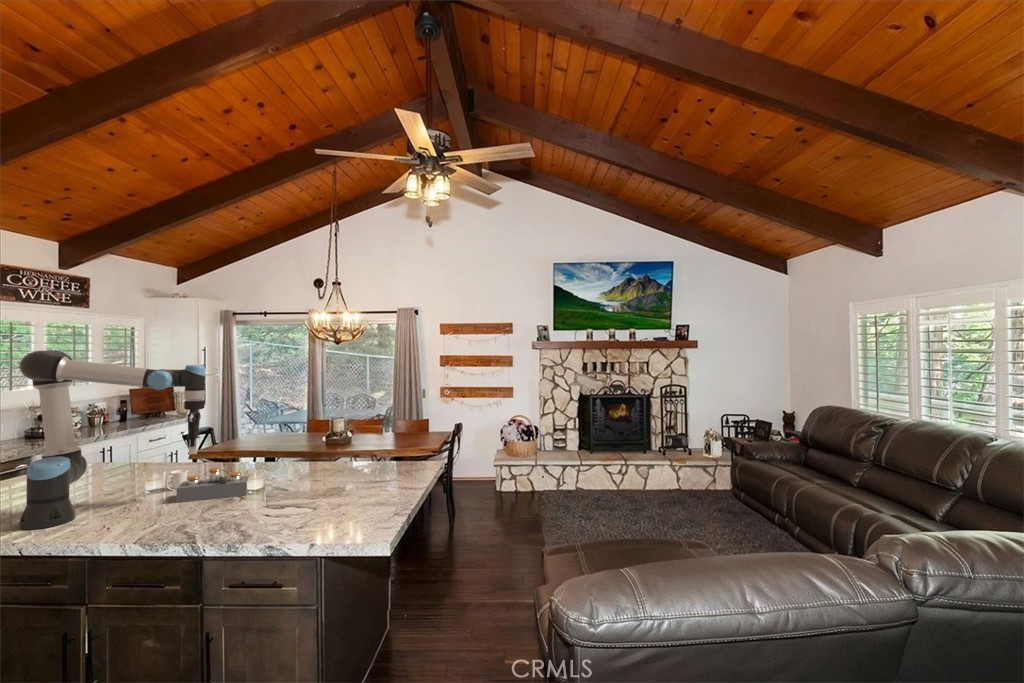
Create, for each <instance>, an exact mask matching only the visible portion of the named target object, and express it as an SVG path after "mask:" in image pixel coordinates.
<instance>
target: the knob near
mask: <svg viewBox="0 0 1024 683" xmlns="http://www.w3.org/2000/svg"><path fill="white" fill-rule="evenodd" d="M200 478H201V476H200V475H192V476H187V478H186V481H188V485H199V480H200Z"/></svg>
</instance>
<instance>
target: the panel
mask: <svg viewBox="0 0 1024 683" xmlns="http://www.w3.org/2000/svg"><path fill="white" fill-rule="evenodd" d="M248 478H249V479H250V475H240V481H232V482H230V476H229V477H228V476H227V483H226V484H220V483H210V484H209V482H210V478H209V479H199V485H188V480H186V481H183V482H182V483H181V485H180V486H179V487H178V488H177V490H176V503H186V502H187V503H188V502H189V503H190V502H195V501H196V502H199V501H205V500H216V499H225V498H226V499H228V498H235V497H244V496H247V494H248V492H247V481H248Z"/></svg>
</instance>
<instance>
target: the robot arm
mask: <svg viewBox="0 0 1024 683" xmlns="http://www.w3.org/2000/svg"><path fill="white" fill-rule="evenodd" d="M19 370H20V372H21V374H22V375H23V376H24V377H25V378H26V379H29V380H31V381H32V382H31V383H32V387H33V388H35V389H36V390H38V392H39V402H40V409H41V417H42V419H41V420H42V425H43V426H42V427H43V432H44V443H45V451H44V452H43V453H42V454H41V459H36V460H34V461H32V462H30V463H28V465H27V467H26V468H27V469H26V473H25V474H26V475H25V476H26V498H25V499H26V502H25V508H24V510H23V512H22V514H21V517H20V519H19V524H18V526H19V527H18V528H19V529H20V530H30V531H31V530H41V529H46V528H52V527H56V526H59V525H60V526H61V525H64V524H67V523H69V522H71V521H73V520H75V518H76V511H75V508H74V506H73V504H72V501H71V499H70V487H71V486H70V485H72V484H73V483H75V482H77V481H78V480H79V479H81V478H82V477H83V475H84V474H85V473H86V471H87V468H88V463H87V460H86V458H85V457H84V456H83V454H82V448H81V447H79V446H78V445H76V438H75V432H74V431H75V430H74V423H73V414H72V405H71V397H70V389H69V387H70V385H72V384H73V382H74V381H78V382H79V381H80V382H89V383H96V384H99V383H100V384H108V385H119V386H129V387H139V388H146V389H154V390H159V391H160V390H161V391H162V390H165V389H167V388H169V387H170V388H173V387H174V388H175V387H180V388H182V387H184V392H183V393H184V396H183V398H184V400H185V401H184V402H183V409H184V410H186V411H187V410H189V413H187V419H186V420H187V435H188V436H187V437H186V438H187V440H188V441H189V442H188V455H197V453H198V439H200V436H199V430H200V419H201V412H200V410H203V409H205V400H204V399H205V395H207V392H206V379H207V378H206V367H205V365H202V364H187V365H186V366H185V368H184V369H165V368H164V369H163V368H162V369H151V368H144V367H143V368H141V367H136V366H135V367H134V366H125V365H118V364H111V363H109V364H108V363H101V362H100V363H98V362H91V361H85V360H84V361H83V360H75V359H74V358H73V357H72V356H71V355H70V354H68V353H66V352H64V351H60V350H56V349H55V350H36V351H32V352H29V353H28V354H26V355H24V356H23V357H22V358H21V360H20V363H19Z"/></svg>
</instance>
